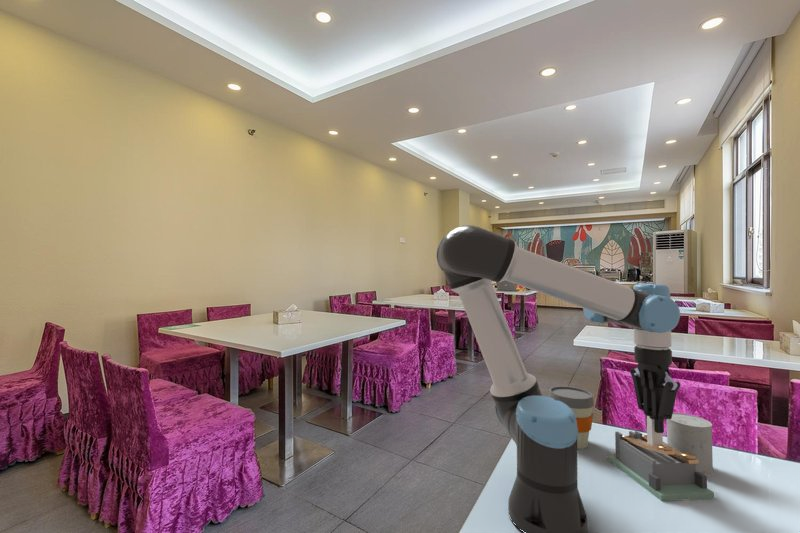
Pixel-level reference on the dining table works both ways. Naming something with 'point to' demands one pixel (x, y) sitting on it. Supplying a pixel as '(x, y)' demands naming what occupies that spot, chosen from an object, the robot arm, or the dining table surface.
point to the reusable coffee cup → (577, 409)
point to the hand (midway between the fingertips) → (655, 443)
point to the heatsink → (659, 471)
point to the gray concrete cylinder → (692, 439)
